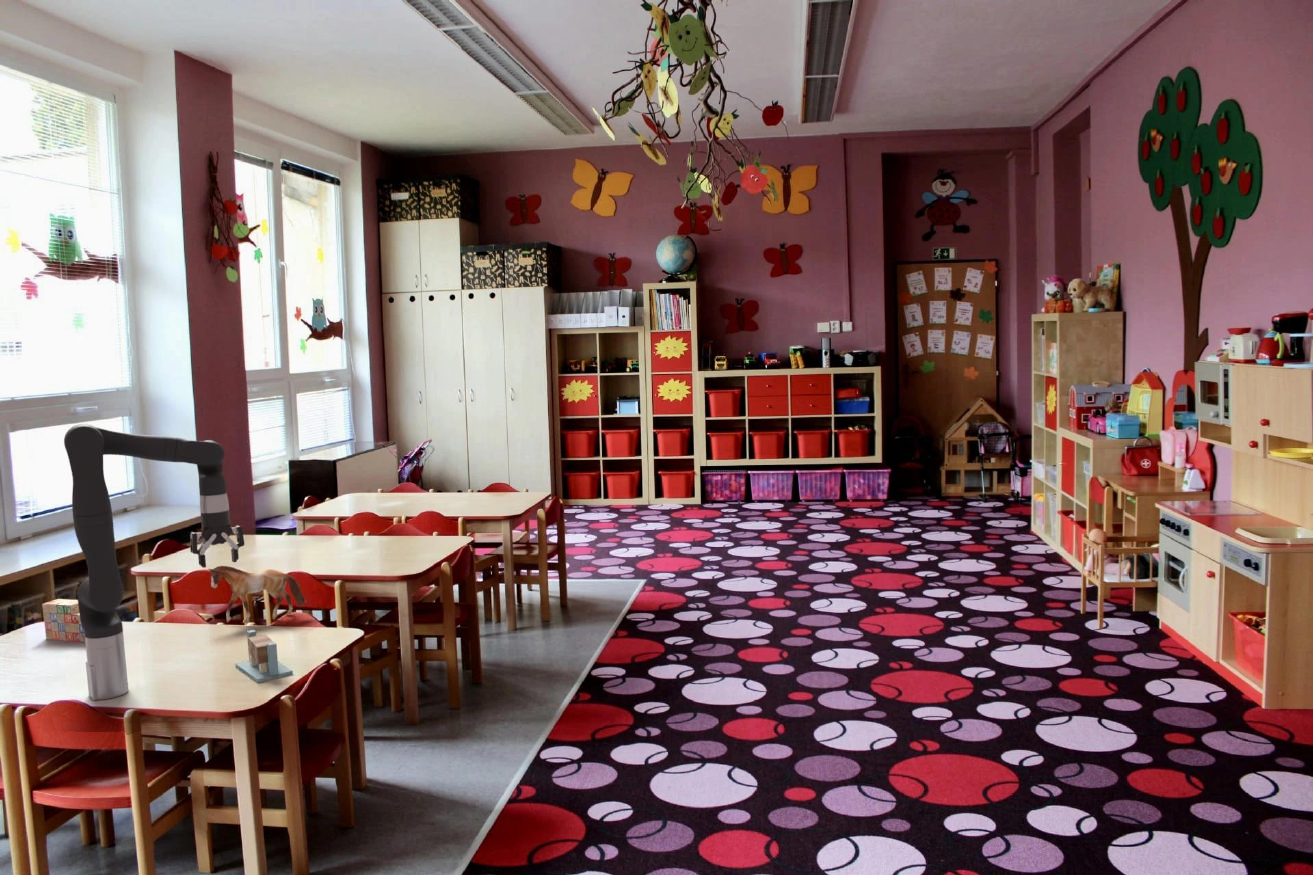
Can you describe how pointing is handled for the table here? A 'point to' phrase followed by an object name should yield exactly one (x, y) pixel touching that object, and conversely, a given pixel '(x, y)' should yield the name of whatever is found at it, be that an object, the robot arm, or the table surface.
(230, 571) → the horse figurine
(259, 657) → the brown wooden block
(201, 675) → the table surface
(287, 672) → the peg stand
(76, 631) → the stack of blocks
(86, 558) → the robot arm
